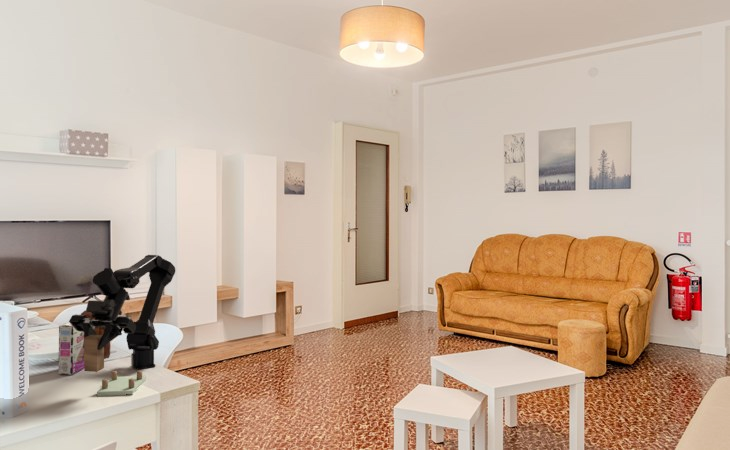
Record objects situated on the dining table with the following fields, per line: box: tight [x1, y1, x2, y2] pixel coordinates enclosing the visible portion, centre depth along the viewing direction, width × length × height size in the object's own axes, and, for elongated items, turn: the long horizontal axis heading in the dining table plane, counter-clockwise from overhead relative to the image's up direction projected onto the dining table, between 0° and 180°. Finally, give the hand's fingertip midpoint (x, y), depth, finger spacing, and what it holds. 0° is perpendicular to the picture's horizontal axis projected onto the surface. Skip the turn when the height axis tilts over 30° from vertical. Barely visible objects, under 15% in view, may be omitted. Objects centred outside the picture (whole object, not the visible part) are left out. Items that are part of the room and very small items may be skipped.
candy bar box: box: [57, 321, 84, 376], centre depth 180 cm, size 11×5×16 cm, turn 178°
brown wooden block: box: [83, 335, 105, 373], centre depth 157 cm, size 4×4×10 cm
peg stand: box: [96, 369, 147, 397], centre depth 164 cm, size 14×10×4 cm
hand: (91, 349), depth 156 cm, fingers closed on brown wooden block, 4 cm apart
